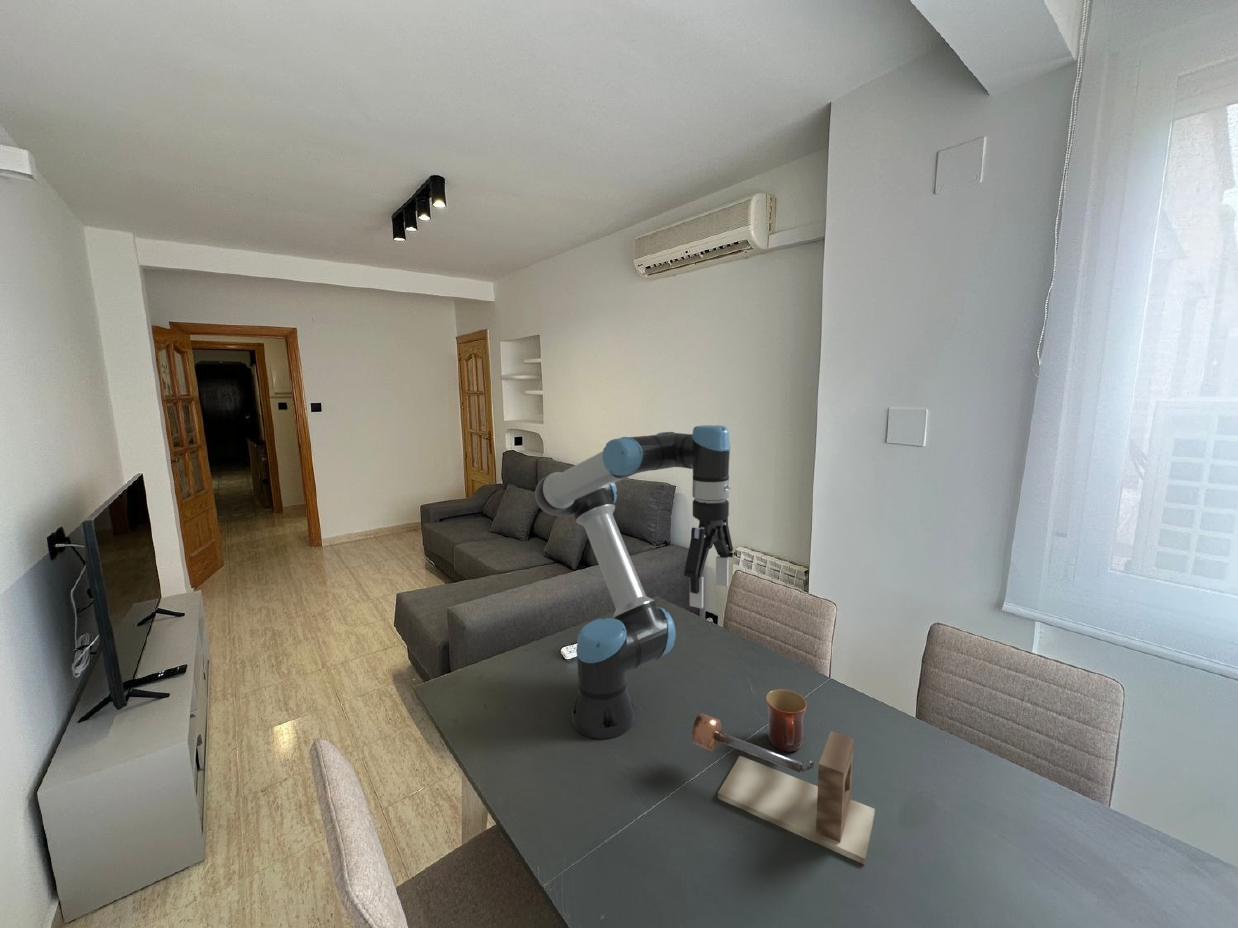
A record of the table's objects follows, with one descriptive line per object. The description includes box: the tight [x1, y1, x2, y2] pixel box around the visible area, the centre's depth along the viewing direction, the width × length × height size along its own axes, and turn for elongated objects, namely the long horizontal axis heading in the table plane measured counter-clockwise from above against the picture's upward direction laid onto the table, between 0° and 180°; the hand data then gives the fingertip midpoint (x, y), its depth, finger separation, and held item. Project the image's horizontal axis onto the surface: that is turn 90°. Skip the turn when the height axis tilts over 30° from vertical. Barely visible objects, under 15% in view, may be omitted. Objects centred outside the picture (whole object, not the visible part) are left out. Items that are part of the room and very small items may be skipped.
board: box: [717, 755, 876, 866], centre depth 96 cm, size 26×12×1 cm, turn 56°
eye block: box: [816, 730, 855, 842], centre depth 91 cm, size 4×10×13 cm, turn 146°
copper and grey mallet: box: [691, 713, 815, 774], centre depth 100 cm, size 24×6×6 cm, turn 56°
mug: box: [765, 688, 808, 753], centre depth 111 cm, size 12×9×10 cm
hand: (709, 595), depth 110 cm, fingers open, 13 cm apart
